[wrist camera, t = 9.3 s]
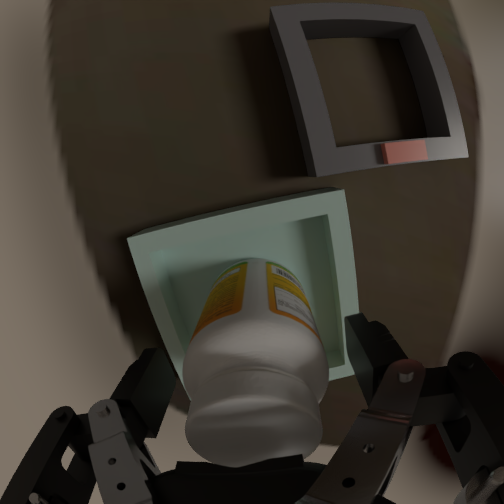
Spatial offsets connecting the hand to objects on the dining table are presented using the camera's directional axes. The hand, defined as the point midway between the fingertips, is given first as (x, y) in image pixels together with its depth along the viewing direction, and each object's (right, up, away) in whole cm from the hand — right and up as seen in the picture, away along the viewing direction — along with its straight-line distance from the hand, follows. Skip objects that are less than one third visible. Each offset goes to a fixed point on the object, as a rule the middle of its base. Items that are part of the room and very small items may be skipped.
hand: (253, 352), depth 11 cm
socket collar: (+7, +14, +2) cm, 15 cm away
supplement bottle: (0, +1, +5) cm, 5 cm away
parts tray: (0, +1, +5) cm, 6 cm away
